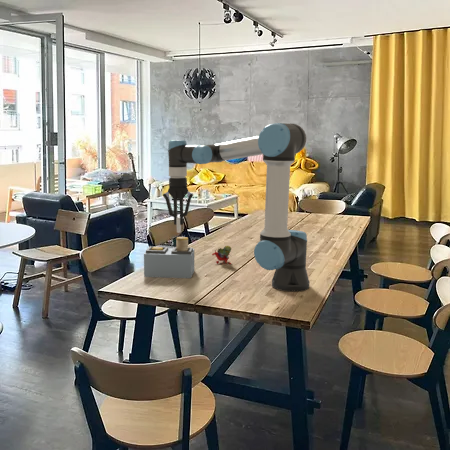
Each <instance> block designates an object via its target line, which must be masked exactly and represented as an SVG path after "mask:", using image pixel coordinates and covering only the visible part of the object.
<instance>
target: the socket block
mask: <svg viewBox="0 0 450 450" xmlns="http://www.w3.org/2000/svg"><path fill="white" fill-rule="evenodd" d="M153 247H154V246H151V245H149V247H147V248H146V249H145V252H144V253H143V271H144V272H143V277H144V278H167V279H168V278H171V279H172V278H173V279H191V278H192V277H193V275H194V273H195V248H194V247H189V246H188V251H176V246H174V247H172V248H171V247H170V248H169V246H161V247H162V248H163V251H159V250H151V248H153Z"/></svg>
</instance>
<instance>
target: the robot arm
mask: <svg viewBox="0 0 450 450" xmlns="http://www.w3.org/2000/svg"><path fill="white" fill-rule="evenodd" d="M306 144H307V134H306V132H305V130H304V128H303V127H302V126H300V125H299V124H297V123H282V122H274V123H269V124H268V125H266V126H265V127H263V129H261V130H260V132H259V134H258V135H256V136H252V137H246V138H241V139H236V140H231V141H226V142H220V143H214V144H187V140H185V139H171V140H169V141H168V147H167V148H168V149H167V154H168V176H169V178H168V190H167V192H165V193H163V194H162V196H163V198H164V200H165V202H166V207H167V211H168V215H169V216H170V217H173V225H174V226H176V233H179V234H180V233H182V225H184V217H187V216H188V213H189V210H190V205H191V200H192V198H193V197H194V193H192V192H190V191H189V188H188V178H187V176H188V173H187V171H188V170H187V169H188V168H187V165H188V164H196V165H206V164H209V163H221V162H225V161H231V160H236V159H243V158H250V157H255V156H261V155H262V161H263V162H264V163H265V165H266V174H265V175H266V180H265V183H266V184H265V205H264V206H265V207H264V208H265V209H264V227H263V230H261V231H260V232H259V241H258V242H257V244H256V245H255V247H254V248H253V249H254V250H253V255H254V259H255V261H256V263H257V264H258V265H259V267H261V268H262V269H263V270H267V271H274V274H273V276H272V279H271V287H273V288H274V289H275V290H278V291H285V292H303V291H306V290H308V289H309V288H310V279H309V277H308V276H309V275H308V271H307V269H306V268H307V267H306V265H307V250H308V249H307V246H308V235H307V233H306V232H305V231H302V230H296V229H288V221H289V200H290V199H289V197H290V180H291V175H290V173H291V166H292V164H294V162H295V159H296V154H298V153H300V152H301V151H303V149H304V147H305V146H306ZM170 197H171V198H172V203H173V206H172V204H171V200H170ZM185 197H187V199H186V200H187V201H186V204H185V209H184V199H185ZM178 201H179V216H178ZM172 207H173V208H172Z"/></svg>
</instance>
